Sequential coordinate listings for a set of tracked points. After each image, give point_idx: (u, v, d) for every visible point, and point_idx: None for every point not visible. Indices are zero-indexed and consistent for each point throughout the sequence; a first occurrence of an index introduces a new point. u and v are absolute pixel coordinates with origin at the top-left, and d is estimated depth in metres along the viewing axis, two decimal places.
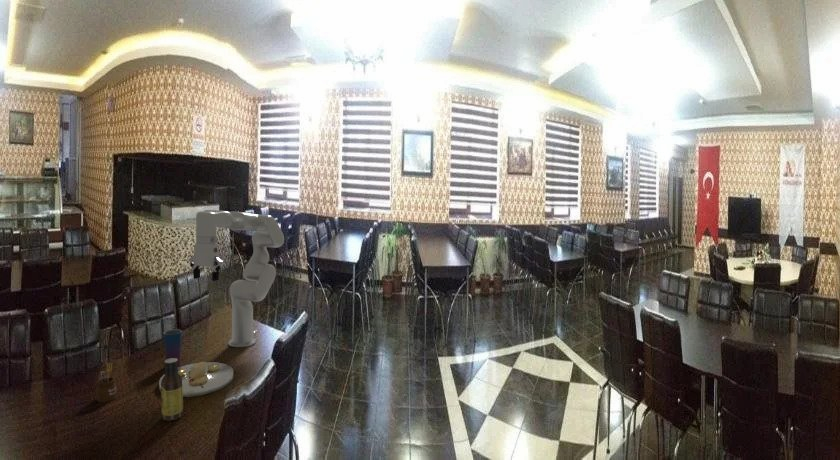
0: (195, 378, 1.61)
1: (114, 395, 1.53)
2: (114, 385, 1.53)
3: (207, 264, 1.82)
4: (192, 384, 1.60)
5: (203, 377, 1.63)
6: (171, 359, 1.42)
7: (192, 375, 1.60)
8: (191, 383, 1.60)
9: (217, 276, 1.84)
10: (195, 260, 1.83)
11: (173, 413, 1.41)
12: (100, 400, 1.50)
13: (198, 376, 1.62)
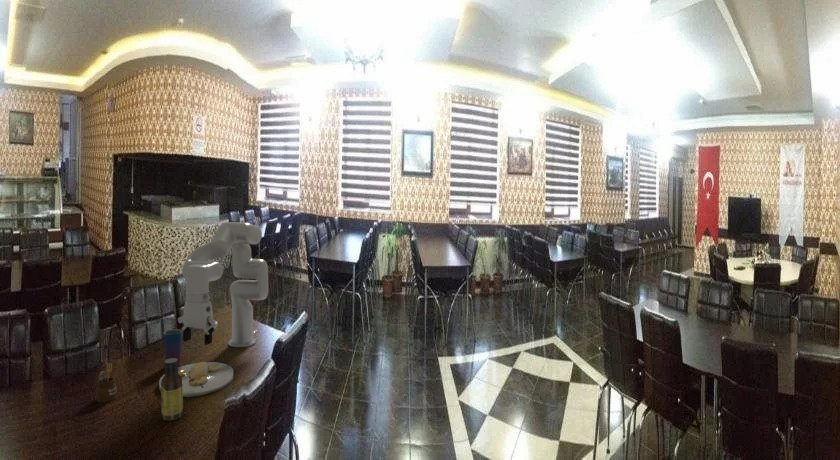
0: (195, 378, 1.61)
1: (114, 395, 1.53)
2: (114, 385, 1.53)
3: (198, 326, 1.58)
4: (192, 384, 1.60)
5: (203, 377, 1.63)
6: (171, 359, 1.42)
7: (192, 375, 1.60)
8: (191, 383, 1.60)
9: (210, 339, 1.60)
10: (185, 321, 1.60)
11: (173, 413, 1.41)
12: (100, 400, 1.50)
13: (198, 376, 1.62)
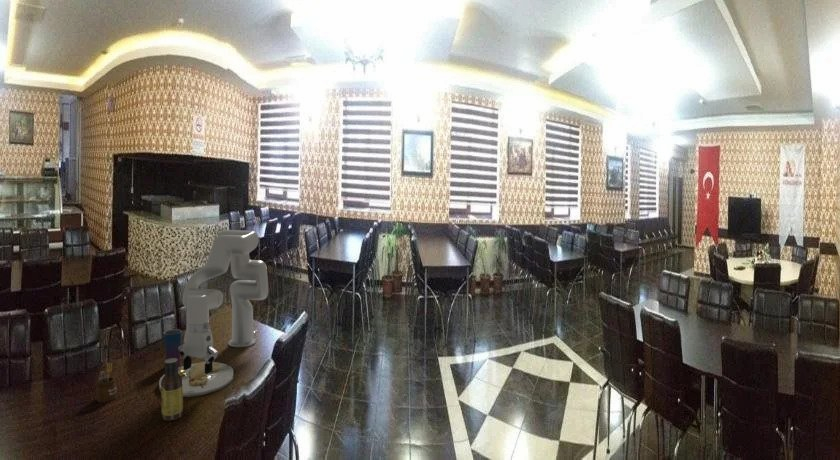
0: (195, 378, 1.61)
1: (114, 395, 1.53)
2: (114, 385, 1.53)
3: (198, 355, 1.59)
4: (192, 384, 1.60)
5: (203, 377, 1.63)
6: (171, 359, 1.42)
7: (192, 375, 1.60)
8: (191, 383, 1.60)
9: (210, 368, 1.61)
10: (185, 350, 1.61)
11: (173, 413, 1.41)
12: (100, 400, 1.50)
13: (198, 376, 1.62)
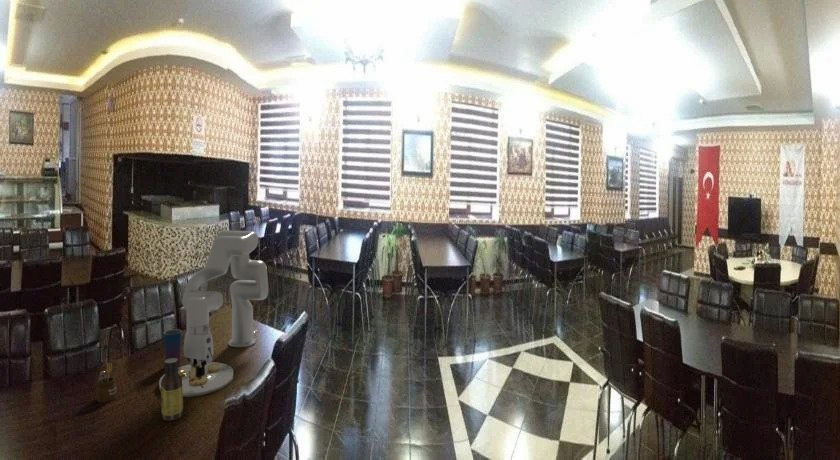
0: (195, 378, 1.61)
1: (114, 395, 1.53)
2: (114, 385, 1.53)
3: (198, 357, 1.60)
4: (192, 384, 1.60)
5: (203, 377, 1.63)
6: (171, 359, 1.42)
7: (192, 375, 1.60)
8: (191, 383, 1.60)
9: (203, 371, 1.62)
10: (185, 351, 1.61)
11: (173, 413, 1.41)
12: (100, 400, 1.50)
13: None
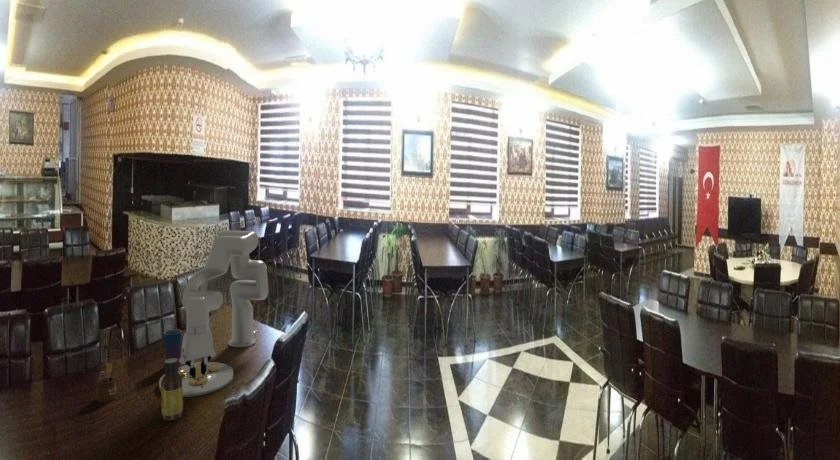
0: (200, 377, 1.61)
1: (114, 395, 1.53)
2: (114, 385, 1.53)
3: (206, 354, 1.63)
4: (199, 384, 1.61)
5: (203, 375, 1.65)
6: (171, 359, 1.42)
7: (198, 375, 1.61)
8: (197, 383, 1.60)
9: None
10: (189, 354, 1.58)
11: (173, 413, 1.41)
12: (100, 400, 1.50)
13: (200, 376, 1.63)
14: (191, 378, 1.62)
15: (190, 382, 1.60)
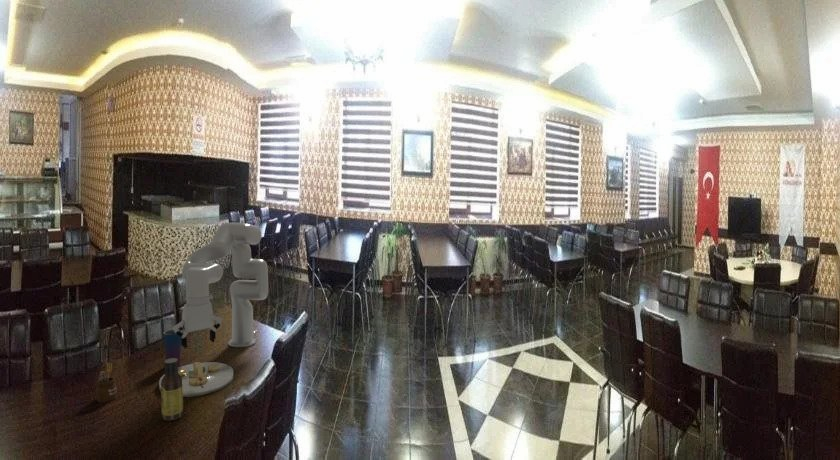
0: None
1: (114, 395, 1.53)
2: (114, 385, 1.53)
3: (206, 326, 1.62)
4: (201, 383, 1.61)
5: (203, 375, 1.65)
6: (171, 359, 1.42)
7: (200, 375, 1.61)
8: (200, 383, 1.61)
9: None
10: (189, 326, 1.57)
11: (173, 413, 1.41)
12: (100, 400, 1.50)
13: None
14: (191, 379, 1.61)
15: (192, 382, 1.60)
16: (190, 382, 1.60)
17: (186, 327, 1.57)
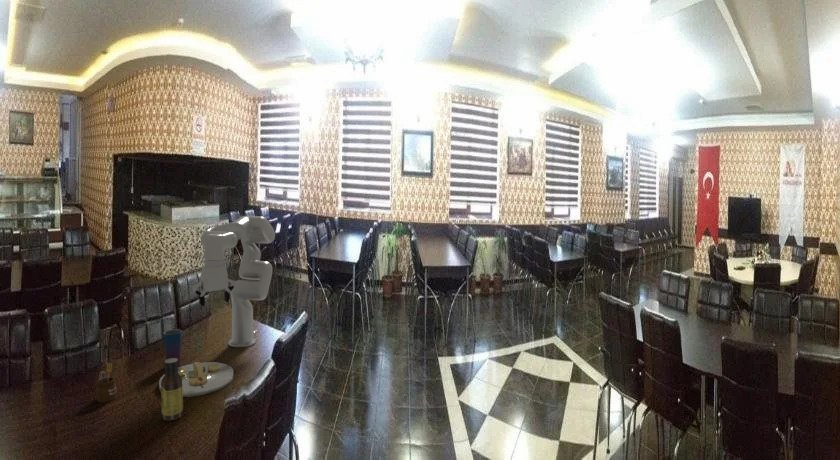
0: None
1: (114, 395, 1.53)
2: (114, 385, 1.53)
3: (222, 287, 1.80)
4: (201, 383, 1.61)
5: (203, 375, 1.65)
6: (171, 359, 1.42)
7: (200, 375, 1.61)
8: (200, 383, 1.61)
9: None
10: (207, 286, 1.75)
11: (173, 413, 1.41)
12: (100, 400, 1.50)
13: None
14: (191, 379, 1.61)
15: (192, 382, 1.60)
16: (190, 382, 1.60)
17: (204, 287, 1.75)
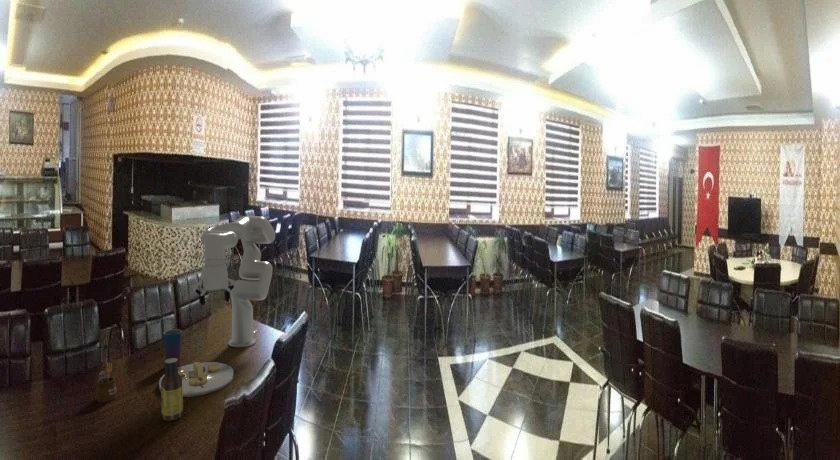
0: None
1: (114, 395, 1.53)
2: (114, 385, 1.53)
3: (222, 286, 1.80)
4: (201, 383, 1.61)
5: (203, 375, 1.65)
6: (171, 359, 1.42)
7: (200, 375, 1.61)
8: (200, 383, 1.61)
9: None
10: (207, 285, 1.75)
11: (173, 413, 1.41)
12: (100, 400, 1.50)
13: None
14: (192, 379, 1.61)
15: (192, 382, 1.60)
16: (190, 382, 1.60)
17: (204, 286, 1.75)
